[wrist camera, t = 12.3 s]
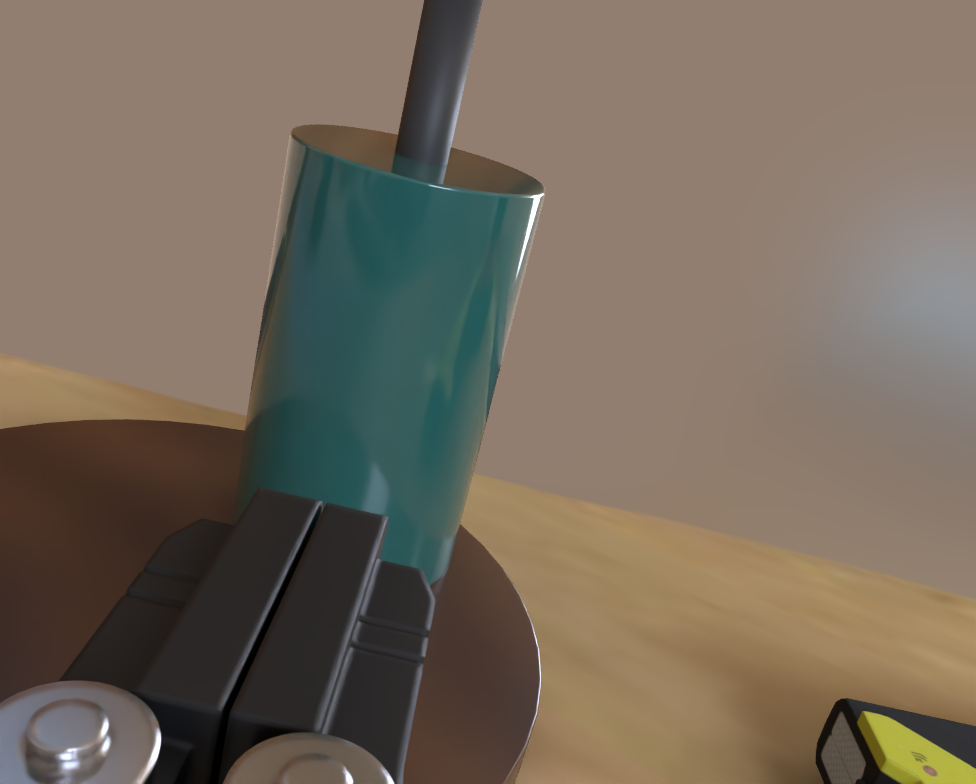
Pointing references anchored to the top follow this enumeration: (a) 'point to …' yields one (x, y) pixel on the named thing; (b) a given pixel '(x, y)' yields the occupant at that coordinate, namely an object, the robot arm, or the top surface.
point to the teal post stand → (327, 417)
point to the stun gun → (893, 747)
